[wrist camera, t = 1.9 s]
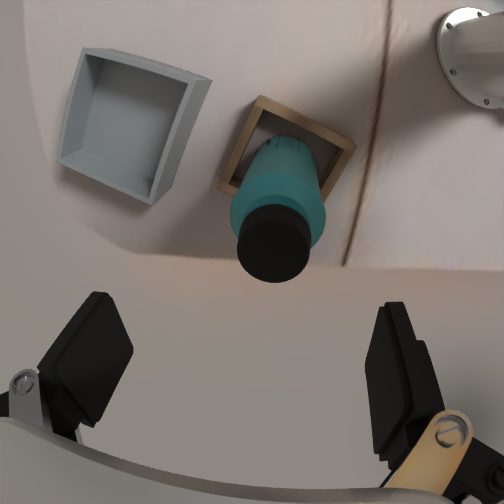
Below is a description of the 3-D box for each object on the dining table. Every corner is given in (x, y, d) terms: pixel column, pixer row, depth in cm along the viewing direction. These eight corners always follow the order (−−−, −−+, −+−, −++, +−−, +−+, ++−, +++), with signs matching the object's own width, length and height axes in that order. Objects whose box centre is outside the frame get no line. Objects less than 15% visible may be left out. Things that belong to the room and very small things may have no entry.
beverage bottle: (272, 121, 31) (239, 171, 14) (326, 150, 32) (359, 235, 15) (245, 171, 34) (191, 272, 17) (297, 198, 35) (294, 320, 18)
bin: (212, 80, 29) (196, 79, 25) (170, 188, 37) (151, 205, 32) (110, 49, 28) (82, 47, 23) (82, 149, 35) (56, 161, 30)
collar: (353, 141, 31) (357, 146, 29) (306, 221, 36) (306, 231, 34) (261, 95, 30) (258, 95, 28) (221, 181, 35) (216, 188, 33)
